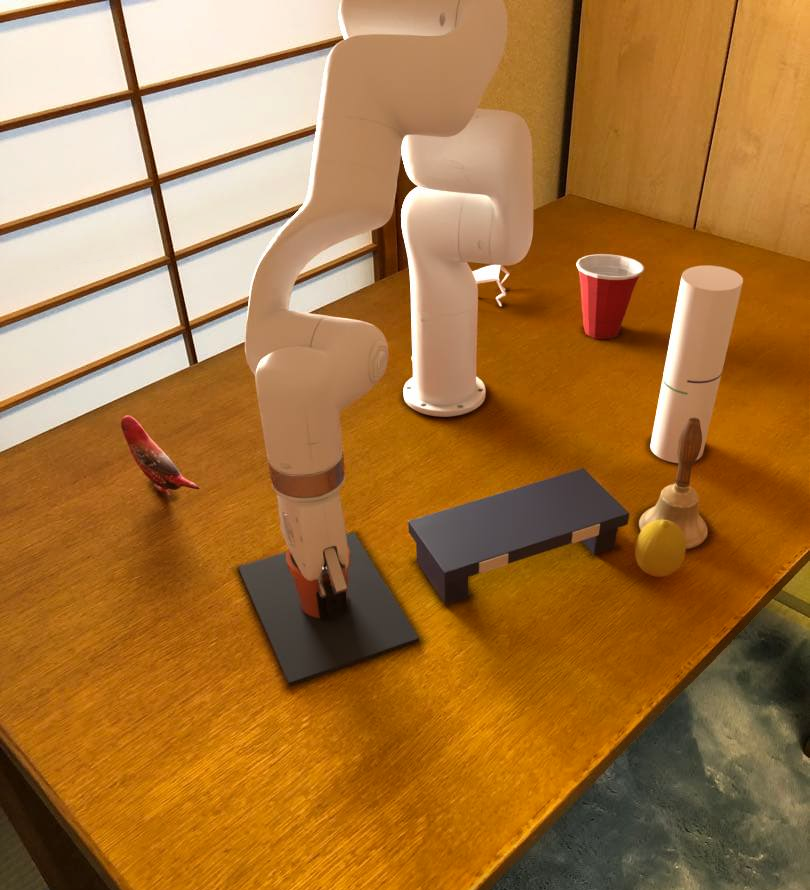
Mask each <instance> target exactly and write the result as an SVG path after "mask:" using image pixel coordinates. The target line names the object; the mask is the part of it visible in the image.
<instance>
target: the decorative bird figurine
mask: <svg viewBox="0 0 810 890" xmlns="http://www.w3.org/2000/svg"><path fill="white" fill-rule="evenodd" d="M120 427H121V430H122V434H123V436H124V439H125V441H126V443H127V446H128V448H129V450H130V451H129V452H130V453H131V455H132V457H133V459H134V461H135V463H136V464H137V466H138V468H139V469H140V470H141V471H142V473H143V474H144V475H145V476H146V477H147V478H148V480H150V481H149V482H151V483H152V484H153V485H154V487H155V489H157V490H158V491H159V492H161V493H163V494H165V495H166V496H168V497H170V498H172V495H171V493H170V492H169V491H168V490H170V491H171V490H172V491H177V490H179V489H180V488H182V487H185V488H188V489H189V488H190V489H193V490H200V489H201V488H200V486H198V485H197V484H195V483H194V482H193V481H191V480H189V479H187V478H185V477H184V476H183V475H182V473H181V472H180V470H179V469H178V467H177V466H176V465H175V463H174V462H173V461H172V459H171V458H170V457H169V456H168V455H167V454H166V453H165V452H164V451H163V450H162V449H161V447H159V445H158V444H157V443H156V442H155V441H154V440H153V439H152V438H151V437H150V435H149V434H148V433H147V432H146V429H144V427H143V425H141V424H140V423H139V421H137V420H136V419H135V418H134V417H133V416H132V415H124V416H123V417H122V418H121V420H120Z"/></svg>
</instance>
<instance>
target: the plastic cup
mask: <svg viewBox="0 0 810 890" xmlns="http://www.w3.org/2000/svg"><path fill="white" fill-rule="evenodd" d="M575 264H576V267H577V269H578V275H579V283H580V299H581V312H582V322H583V328H584V330H583V331H584V332H585V334H586V335H587V336H589V337H591V338H593V339H597V340H598V339H599V340H609V339H612V338H615V337H616V336H618V334H619V332H620V330H621V327H622V324H623V321H624V318H625V316H626V313H627V310H628V307H629V304H630V301H631V297H632V295H633V292H634V289H635V287H636V284H637V282H638V280H639V278H640V276H641V275H642V274H643V272H644V270H645V266H644V265H643V263H642V262H640V261H638V260H636V259H634V258H631V257H628V256H624V255H617V254H609V253H608V254H607V253H598V254H597V253H596V254H590V255H584V256H582V257H581V258H578V260H577V261H576V263H575Z"/></svg>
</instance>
